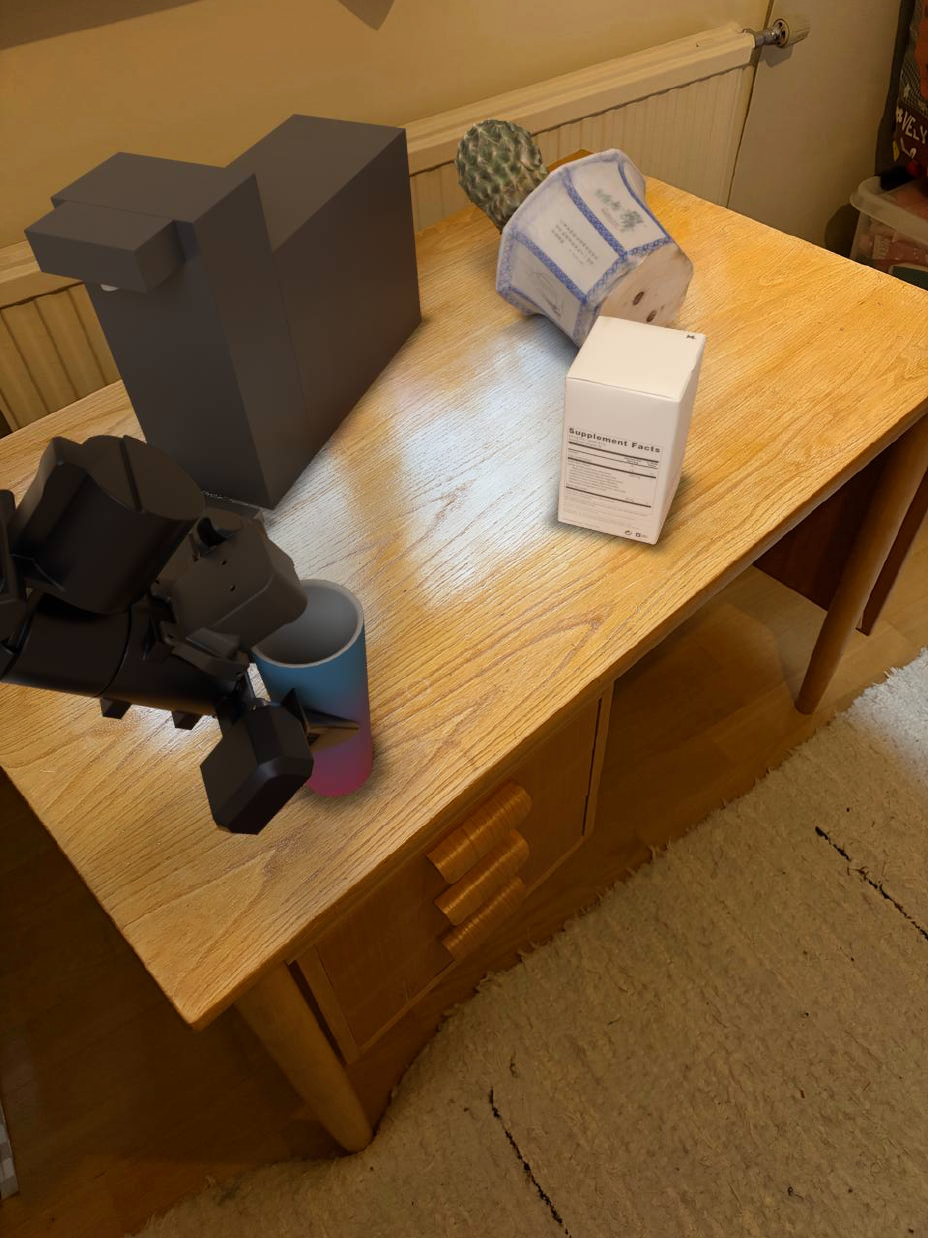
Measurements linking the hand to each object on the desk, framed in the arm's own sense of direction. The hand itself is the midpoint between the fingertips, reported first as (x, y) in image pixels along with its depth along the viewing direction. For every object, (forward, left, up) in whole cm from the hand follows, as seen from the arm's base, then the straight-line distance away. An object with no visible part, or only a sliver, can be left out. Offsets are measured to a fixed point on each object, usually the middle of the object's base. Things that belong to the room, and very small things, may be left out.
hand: (340, 693), depth 56 cm
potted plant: (+34, +50, -8) cm, 61 cm away
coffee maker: (+2, +42, -8) cm, 42 cm away
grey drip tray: (-11, +26, -8) cm, 29 cm away
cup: (-1, 0, -8) cm, 8 cm away
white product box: (+28, +18, -8) cm, 34 cm away
